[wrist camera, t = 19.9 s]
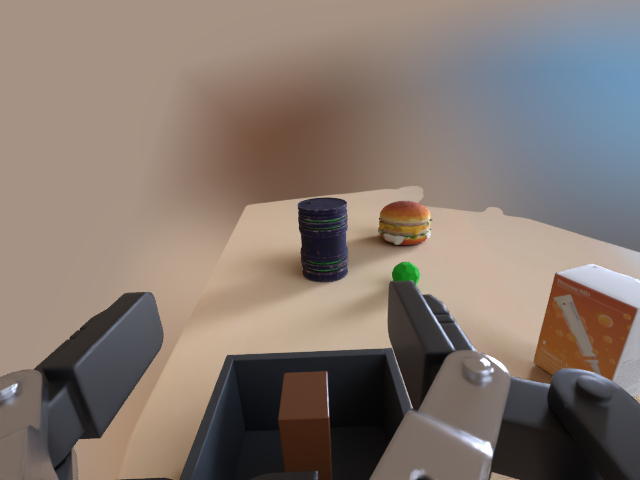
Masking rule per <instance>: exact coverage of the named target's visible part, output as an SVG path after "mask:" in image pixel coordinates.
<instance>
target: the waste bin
mask: <svg viewBox="0 0 640 480" xmlns="http://www.w3.org/2000/svg"><path fill="white" fill-rule="evenodd" d="M321 371H327V376H328V398H329V419H330V441H331V462H332V480H369V479H370V478H371V476H372V474H373V472H374V470H375V469H376V467H377V465H378V463H379V461H380V460H381V458H382V456H383V454H384V452H385V451H386V449H387V447H388V445H389V443H390V442H391V440H392V438H393V436H394V434H395V433H396V431H397V429H398V427H399V425H400V424H401V422H402V420H403V418H404V417H405V415H406V413H407V412H408V411H409V410H410V409H411V408H412V407H411V404H410V401H409V398H408V395H407V392H406V389H405V386H404V383H403V380H402V377H401V374H400V371H399V368H398V365H397V362H396V359H395V356H394V353H393V350H392V348H385V349H362V350H339V351H315V352H292V353H268V354H245V355H227V357H226V359H225V362H224V365H223V367H222V370H221V372H220V375H219V378H218V380H217V383H216V385H215V388H214V391H213V393H212V396H211V399H210V401H209V404H208V406H207V409H206V412H205V414H204V417H203V420H202V422H201V425H200V427H199V430H198V433H197V435H196V438H195V440H194V443H193V446H192V448H191V451H190V454H189V456H188V459H187V461H186V464H185V467H184V469H183V472H182V474H181V477H180V480H248V479H251V478H254V477H257V476H261V475H264V474H267V473H282V472H284V463H283V455H282V447H281V439H280V431H279V422H278V417H279V409H280V402H281V394H282V386H283V378H284V373H297V372H321Z"/></svg>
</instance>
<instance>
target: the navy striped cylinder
mask: <svg viewBox="0 0 640 480" xmlns="http://www.w3.org/2000/svg"><path fill="white" fill-rule="evenodd" d="M346 207H347V202H346V201H345V200H342V199H338V198H314V199H308V200H304V201H301V202H300V203H298V210H299V211H298V214H299V217H298V221H299V231H300V233H301V241H302V248H301V263H302V267H303V276H304V277H305V278H307V279H309V280H311V281H315V282H332V281H337V280H339V279H342V278H343V277H345V276H346V275H347V273H348V268H347V265H348V248H347V246H346V231H347V227H348V225H347V209H346Z"/></svg>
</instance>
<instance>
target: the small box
mask: <svg viewBox="0 0 640 480" xmlns="http://www.w3.org/2000/svg"><path fill="white" fill-rule="evenodd" d="M534 363H535V364H536V365H538V366H539V367H541V368H542V369H544V370H545V371H546V372H548V373H549V374H551V375H552V376H553V374H554V373H555V372H556V371H558V370H560V369H565V368H576V369H582V370H586V371H590V372H593V373H596V374H598V375H601V376H603V377H605V378H607V379H609V380H611V381H613V382H614V383H616V384H617V385H619V386H620V387H622V388H623V389H624V390H625V391H626V392H628V393H629V394H630V395H631V396H632V397H635V396H637V395H639V393H640V280H638V279H635V278H632V277H629V276H626V275H623V274H620V273H616V272H614V271H611V270H608V269H605V268H602V267H600V266H597V265H594V264H589V265H584V266H580V267H576V268H572V269H569V270H565V271H561V272H558V273H555V277H554V281H553V285H552V289H551V293H550V297H549V301H548V305H547V309H546V313H545V317H544V321H543V325H542V329H541V333H540V337H539V341H538V345H537V349H536V353H535V357H534Z"/></svg>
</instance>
